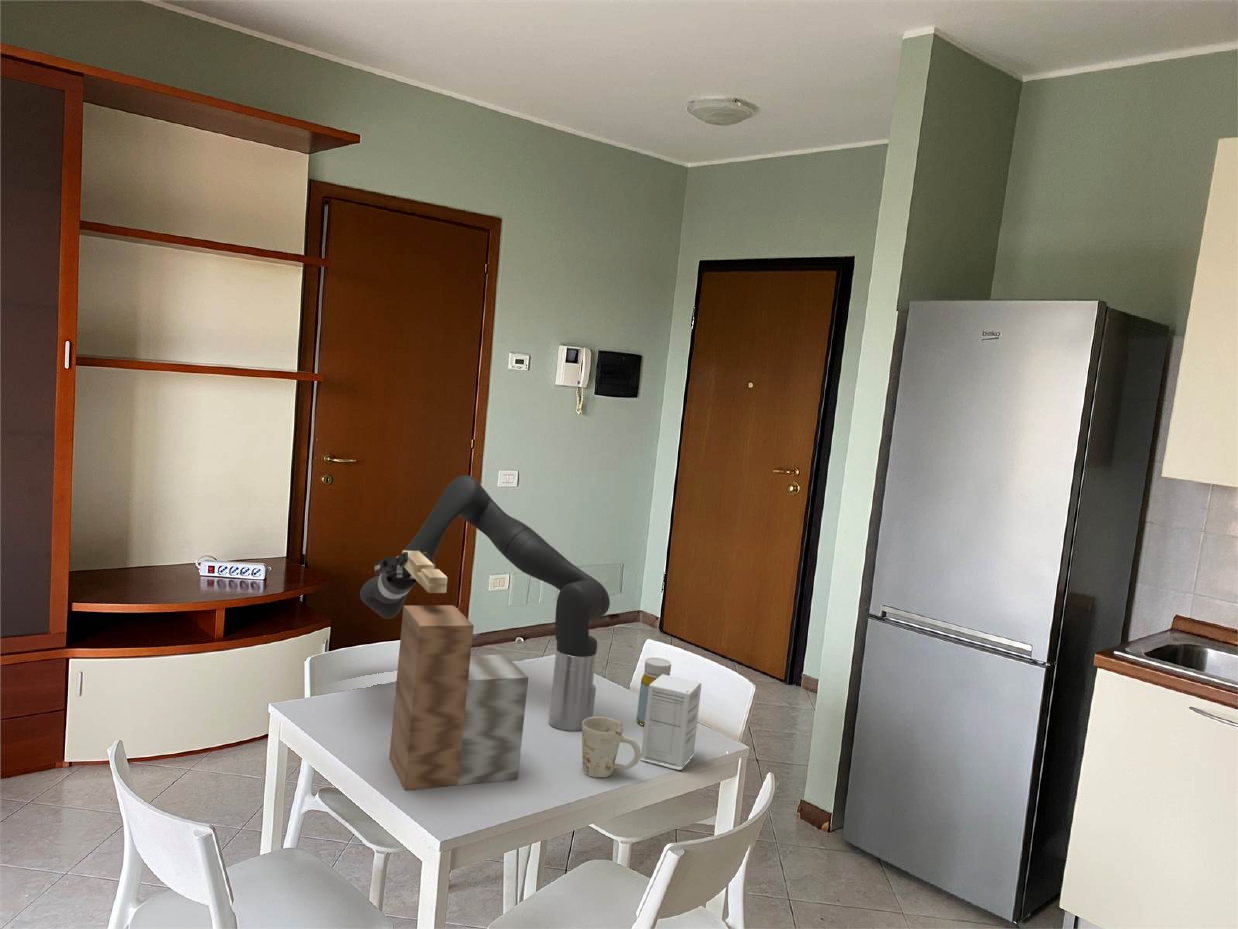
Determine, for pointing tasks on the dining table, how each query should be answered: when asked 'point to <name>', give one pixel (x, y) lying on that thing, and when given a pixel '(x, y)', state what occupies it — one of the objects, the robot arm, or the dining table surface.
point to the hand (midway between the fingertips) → (416, 556)
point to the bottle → (651, 673)
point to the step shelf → (453, 705)
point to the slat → (426, 573)
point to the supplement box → (671, 720)
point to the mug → (604, 746)
